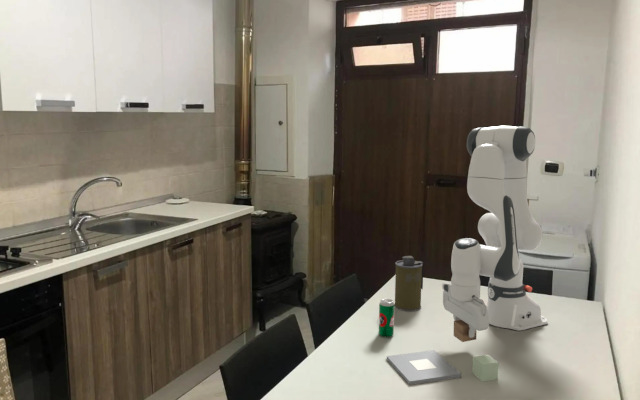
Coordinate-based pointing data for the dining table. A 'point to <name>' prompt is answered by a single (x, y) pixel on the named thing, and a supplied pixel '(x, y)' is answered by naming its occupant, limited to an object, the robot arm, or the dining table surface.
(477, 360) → the sage brick
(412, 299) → the canister
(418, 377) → the board
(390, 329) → the soda can
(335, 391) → the dining table surface
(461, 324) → the walnut brick
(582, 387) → the dining table surface
